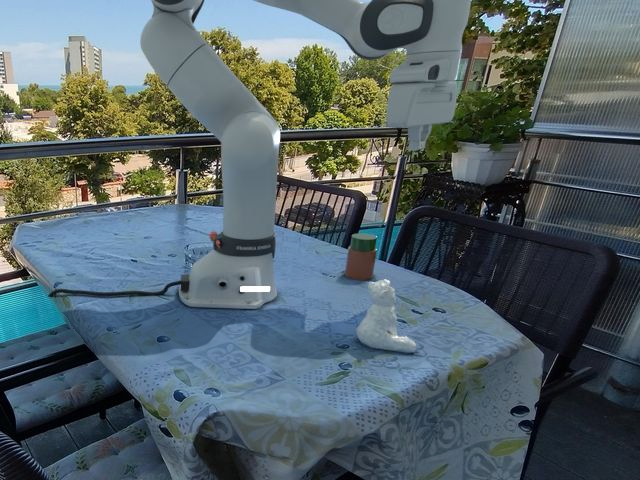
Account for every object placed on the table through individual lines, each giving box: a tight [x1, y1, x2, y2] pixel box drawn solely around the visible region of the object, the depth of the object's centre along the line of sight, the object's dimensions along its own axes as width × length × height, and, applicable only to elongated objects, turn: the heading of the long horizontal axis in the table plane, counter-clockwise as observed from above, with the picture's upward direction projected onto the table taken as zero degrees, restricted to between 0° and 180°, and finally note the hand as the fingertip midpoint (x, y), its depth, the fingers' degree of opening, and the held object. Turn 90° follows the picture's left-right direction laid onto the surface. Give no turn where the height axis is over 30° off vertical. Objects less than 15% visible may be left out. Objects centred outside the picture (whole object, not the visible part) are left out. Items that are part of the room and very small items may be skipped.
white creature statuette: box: [355, 279, 417, 354], centre depth 82 cm, size 10×9×12 cm
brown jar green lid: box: [344, 232, 378, 281], centre depth 113 cm, size 6×6×10 cm
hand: (416, 150), depth 90 cm, fingers closed
